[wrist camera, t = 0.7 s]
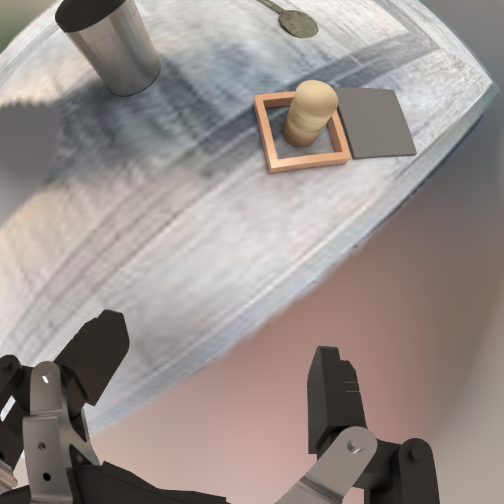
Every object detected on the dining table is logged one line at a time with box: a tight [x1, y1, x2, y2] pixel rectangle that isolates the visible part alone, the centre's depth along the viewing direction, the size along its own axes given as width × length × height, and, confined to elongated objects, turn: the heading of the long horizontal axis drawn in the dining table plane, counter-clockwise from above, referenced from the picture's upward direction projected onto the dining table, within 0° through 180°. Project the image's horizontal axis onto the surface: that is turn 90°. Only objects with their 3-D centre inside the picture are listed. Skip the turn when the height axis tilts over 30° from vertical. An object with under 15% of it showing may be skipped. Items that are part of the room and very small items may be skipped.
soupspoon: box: [263, 0, 318, 38], centre depth 34 cm, size 22×3×7 cm
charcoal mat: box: [332, 87, 417, 159], centre depth 35 cm, size 12×12×1 cm
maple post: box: [282, 80, 338, 147], centre depth 30 cm, size 5×5×10 cm
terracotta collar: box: [253, 91, 351, 174], centre depth 34 cm, size 11×11×2 cm
